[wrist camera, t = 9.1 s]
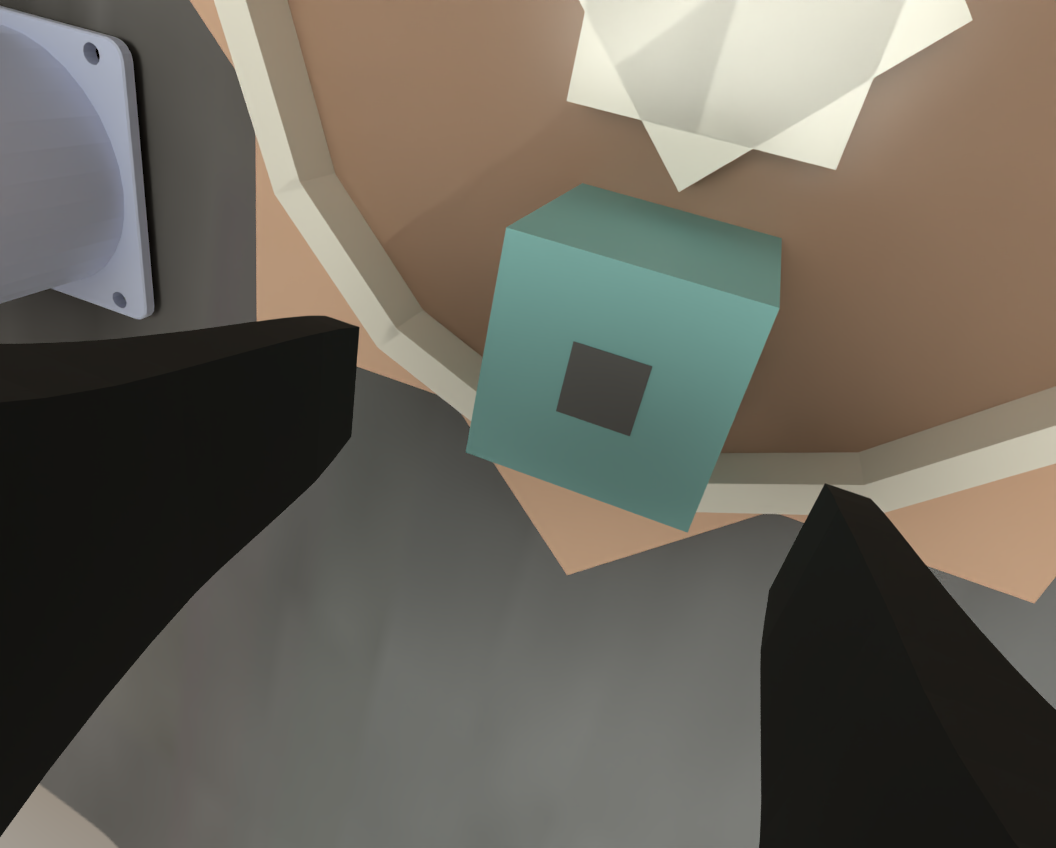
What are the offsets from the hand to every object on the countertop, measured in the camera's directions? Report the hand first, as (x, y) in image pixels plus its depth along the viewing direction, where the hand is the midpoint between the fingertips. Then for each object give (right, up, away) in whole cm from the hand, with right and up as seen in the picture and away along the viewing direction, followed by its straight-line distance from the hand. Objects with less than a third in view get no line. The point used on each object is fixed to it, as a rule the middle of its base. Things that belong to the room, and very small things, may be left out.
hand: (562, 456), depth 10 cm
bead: (+2, +3, +6) cm, 7 cm away
